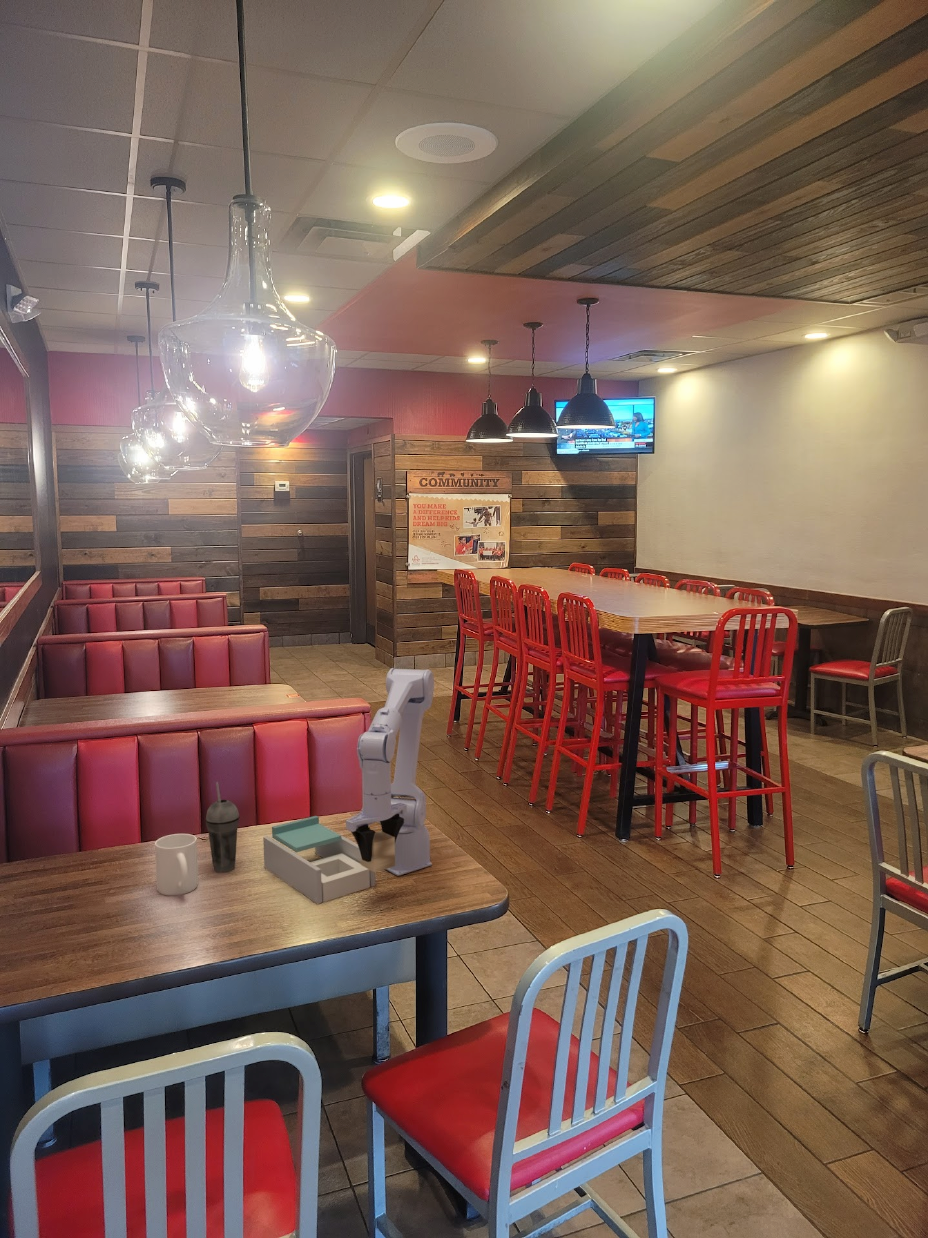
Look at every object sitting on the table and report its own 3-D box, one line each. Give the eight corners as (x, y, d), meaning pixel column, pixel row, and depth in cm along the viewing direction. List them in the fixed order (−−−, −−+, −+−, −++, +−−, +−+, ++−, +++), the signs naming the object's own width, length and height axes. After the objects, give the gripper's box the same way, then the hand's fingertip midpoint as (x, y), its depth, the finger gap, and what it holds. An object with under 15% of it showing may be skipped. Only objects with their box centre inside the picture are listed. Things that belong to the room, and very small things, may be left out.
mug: (206, 898, 176) (204, 849, 175) (164, 907, 172) (162, 857, 171) (193, 877, 186) (191, 831, 185) (153, 885, 182) (151, 838, 181)
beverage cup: (248, 866, 192) (245, 779, 189) (223, 878, 186) (219, 788, 183) (225, 860, 196) (222, 774, 193) (200, 871, 189) (196, 782, 187)
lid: (316, 826, 197) (316, 815, 197) (341, 840, 189) (341, 829, 188) (272, 837, 190) (271, 826, 190) (296, 852, 182) (296, 841, 181)
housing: (319, 852, 200) (318, 823, 199) (375, 885, 182) (374, 853, 181) (264, 867, 191) (263, 837, 190) (317, 904, 173) (316, 870, 172)
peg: (381, 858, 178) (380, 830, 178) (395, 866, 175) (394, 837, 174) (360, 864, 175) (360, 836, 175) (374, 872, 171) (373, 843, 171)
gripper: (390, 779, 181) (391, 841, 183) (335, 795, 171) (336, 861, 172) (413, 786, 176) (414, 850, 178) (358, 803, 166) (359, 871, 167)
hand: (377, 856), depth 175 cm, fingers closed on peg, 5 cm apart
